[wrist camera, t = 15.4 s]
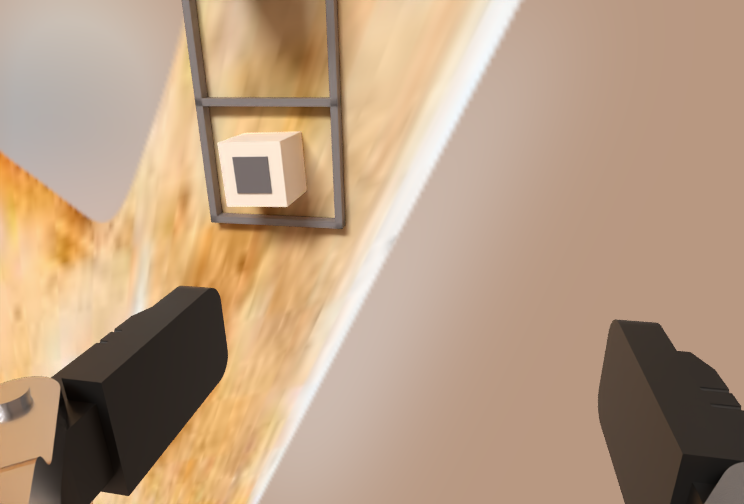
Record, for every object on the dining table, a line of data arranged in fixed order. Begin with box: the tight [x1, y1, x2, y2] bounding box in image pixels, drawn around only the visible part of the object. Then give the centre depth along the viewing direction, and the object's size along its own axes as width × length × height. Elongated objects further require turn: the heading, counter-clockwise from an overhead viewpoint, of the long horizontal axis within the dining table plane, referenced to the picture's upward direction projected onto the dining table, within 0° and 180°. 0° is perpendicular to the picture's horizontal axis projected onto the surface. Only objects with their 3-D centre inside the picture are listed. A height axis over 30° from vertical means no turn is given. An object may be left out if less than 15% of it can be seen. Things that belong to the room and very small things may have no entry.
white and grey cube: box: [217, 132, 307, 207], centre depth 42 cm, size 5×5×5 cm
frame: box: [182, 0, 345, 229], centre depth 40 cm, size 30×12×1 cm, turn 1°
